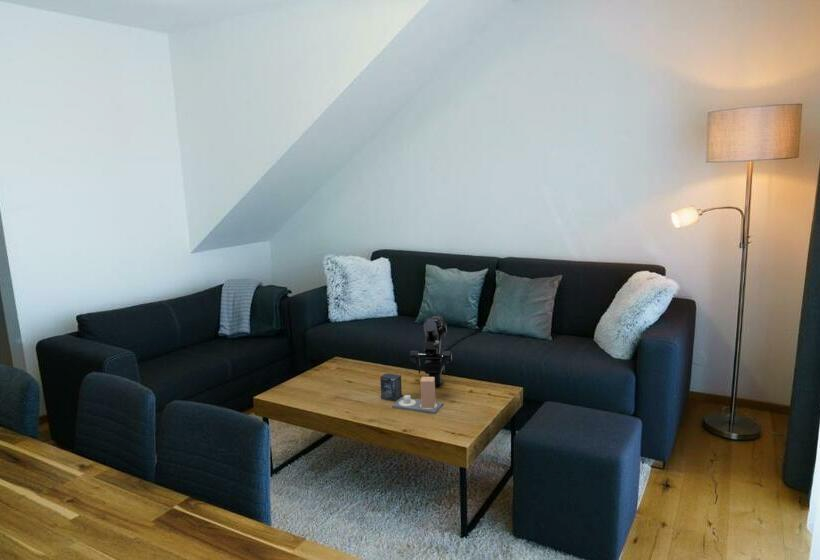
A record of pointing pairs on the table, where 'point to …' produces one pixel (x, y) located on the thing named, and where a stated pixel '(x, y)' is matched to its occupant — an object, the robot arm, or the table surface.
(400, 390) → the box
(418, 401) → the plate
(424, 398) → the pink block
